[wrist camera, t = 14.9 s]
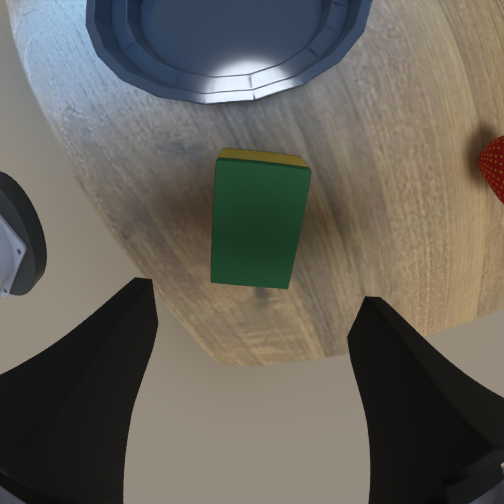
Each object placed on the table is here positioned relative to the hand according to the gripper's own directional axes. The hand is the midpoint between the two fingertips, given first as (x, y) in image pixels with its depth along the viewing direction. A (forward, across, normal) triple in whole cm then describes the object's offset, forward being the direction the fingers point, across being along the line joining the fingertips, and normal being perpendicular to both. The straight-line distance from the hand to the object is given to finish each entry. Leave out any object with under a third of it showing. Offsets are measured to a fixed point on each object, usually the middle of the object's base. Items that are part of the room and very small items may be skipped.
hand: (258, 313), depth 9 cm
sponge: (+9, 0, 0) cm, 9 cm away
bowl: (+9, +3, -13) cm, 16 cm away
